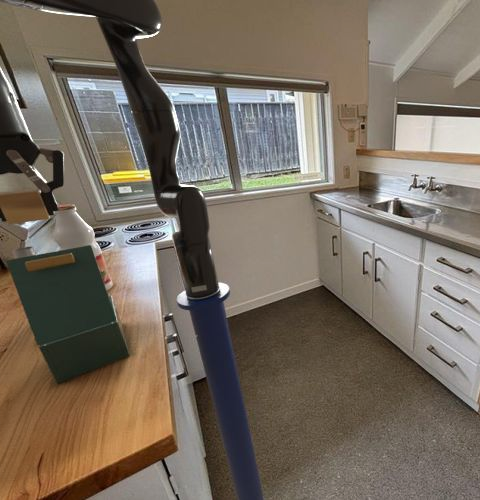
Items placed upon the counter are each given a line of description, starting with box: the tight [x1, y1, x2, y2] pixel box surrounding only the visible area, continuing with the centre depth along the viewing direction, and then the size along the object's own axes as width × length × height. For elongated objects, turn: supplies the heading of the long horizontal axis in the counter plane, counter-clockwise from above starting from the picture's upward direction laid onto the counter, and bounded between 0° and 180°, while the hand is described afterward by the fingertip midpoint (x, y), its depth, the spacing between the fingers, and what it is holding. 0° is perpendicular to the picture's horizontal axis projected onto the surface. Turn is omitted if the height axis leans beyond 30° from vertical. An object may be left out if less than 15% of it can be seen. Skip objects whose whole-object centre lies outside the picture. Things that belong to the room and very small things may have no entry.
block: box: [0, 188, 51, 225], centre depth 45 cm, size 4×4×4 cm
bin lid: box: [5, 245, 117, 347], centre depth 53 cm, size 16×12×5 cm
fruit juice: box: [52, 203, 114, 291], centre depth 87 cm, size 9×9×28 cm
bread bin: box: [38, 295, 130, 385], centre depth 63 cm, size 16×12×9 cm
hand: (29, 217), depth 46 cm, fingers closed on block, 4 cm apart
